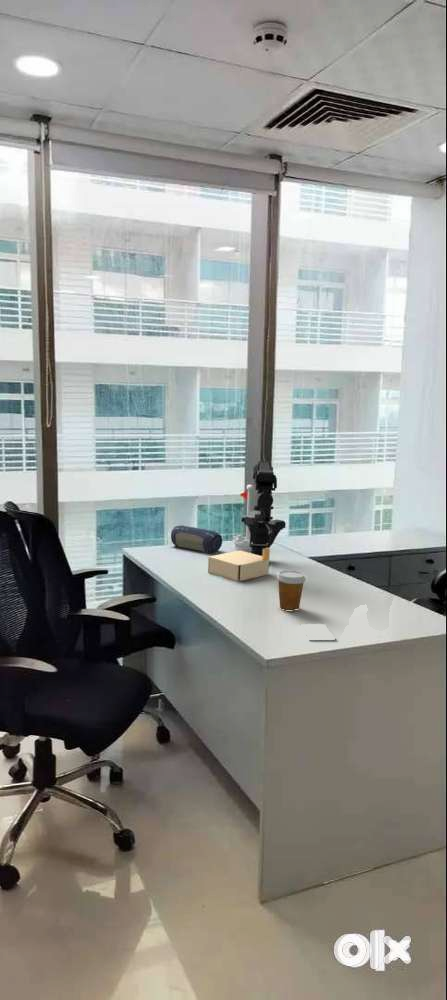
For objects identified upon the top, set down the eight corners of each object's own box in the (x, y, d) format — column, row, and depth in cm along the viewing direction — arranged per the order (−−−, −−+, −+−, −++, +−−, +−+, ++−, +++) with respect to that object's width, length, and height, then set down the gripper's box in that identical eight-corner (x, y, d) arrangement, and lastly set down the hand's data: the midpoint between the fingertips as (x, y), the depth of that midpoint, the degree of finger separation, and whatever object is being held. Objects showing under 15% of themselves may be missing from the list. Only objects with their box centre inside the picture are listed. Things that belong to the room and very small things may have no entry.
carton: (239, 565, 273) (240, 550, 272) (268, 574, 261) (269, 558, 260) (208, 572, 260) (208, 556, 259) (237, 581, 249) (237, 565, 248)
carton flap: (266, 574, 260) (268, 547, 259) (268, 574, 260) (270, 548, 258) (239, 580, 249) (240, 553, 248) (241, 581, 249) (242, 553, 247)
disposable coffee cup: (273, 604, 224) (274, 569, 222) (300, 604, 225) (302, 570, 223) (277, 613, 214) (279, 577, 213) (306, 613, 215) (308, 578, 213)
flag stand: (266, 548, 306) (269, 484, 301) (252, 553, 295) (255, 487, 290) (241, 544, 312) (244, 481, 307) (227, 549, 301) (230, 484, 296)
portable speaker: (166, 547, 300) (167, 525, 299) (179, 543, 309) (180, 522, 307) (211, 556, 287) (212, 533, 285) (224, 552, 295) (225, 530, 294)
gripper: (232, 501, 256) (230, 541, 258) (267, 509, 242) (265, 550, 245) (252, 499, 263) (250, 537, 266) (287, 506, 250) (285, 546, 252)
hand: (262, 542), depth 257 cm, fingers open, 9 cm apart
